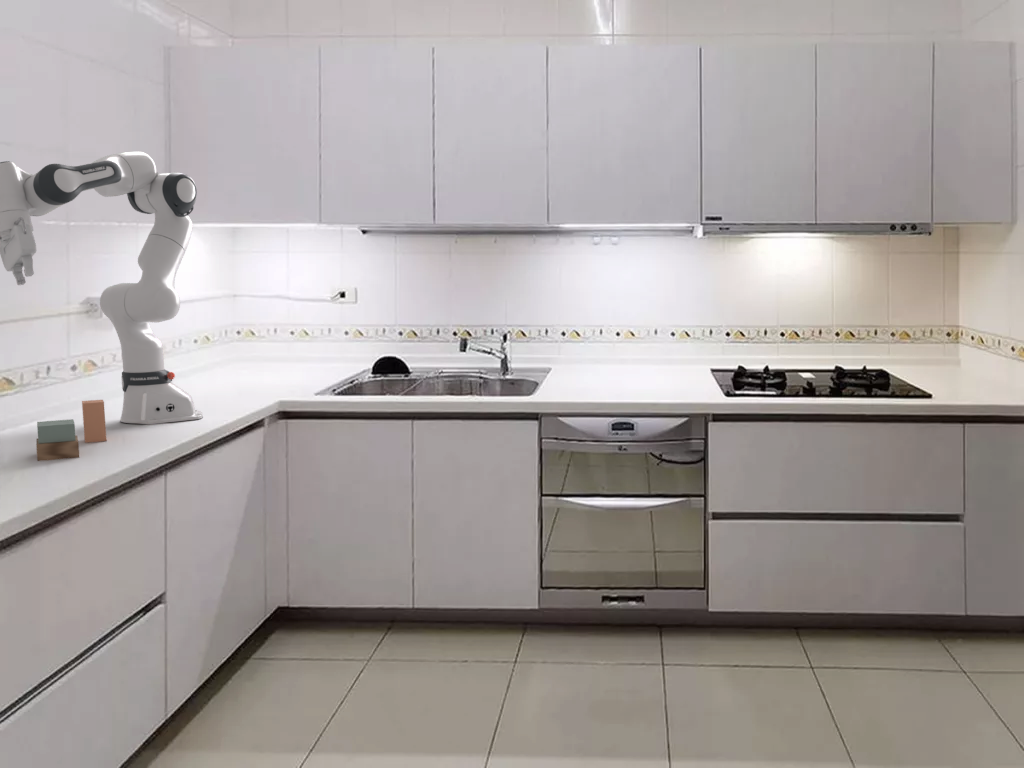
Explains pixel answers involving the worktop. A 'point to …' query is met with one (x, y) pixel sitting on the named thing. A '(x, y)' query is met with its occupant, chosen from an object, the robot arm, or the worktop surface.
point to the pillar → (94, 421)
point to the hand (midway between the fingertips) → (25, 280)
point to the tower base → (57, 450)
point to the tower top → (56, 431)
